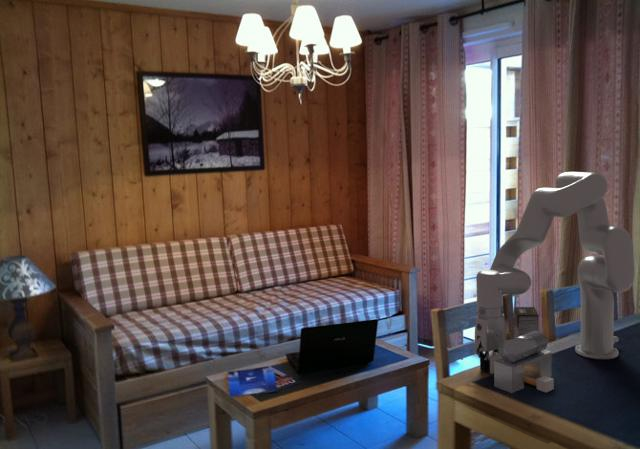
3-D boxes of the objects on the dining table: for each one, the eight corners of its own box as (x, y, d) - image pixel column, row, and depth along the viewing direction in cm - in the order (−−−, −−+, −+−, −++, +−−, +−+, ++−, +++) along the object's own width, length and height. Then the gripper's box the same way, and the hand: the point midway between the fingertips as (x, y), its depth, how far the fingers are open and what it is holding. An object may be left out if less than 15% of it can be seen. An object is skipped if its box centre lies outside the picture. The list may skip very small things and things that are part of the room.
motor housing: (533, 370, 171) (533, 327, 169) (551, 376, 166) (551, 331, 164) (494, 386, 161) (493, 340, 159) (511, 393, 156) (511, 346, 154)
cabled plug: (487, 364, 177) (486, 349, 176) (554, 388, 157) (554, 371, 157) (477, 368, 174) (477, 352, 174) (545, 393, 155) (544, 375, 154)
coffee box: (513, 354, 185) (513, 306, 183) (534, 354, 183) (534, 306, 181) (517, 364, 176) (517, 314, 174) (539, 365, 175) (539, 314, 173)
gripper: (480, 319, 163) (481, 380, 165) (518, 308, 172) (518, 365, 174) (461, 314, 169) (462, 372, 171) (497, 303, 178) (498, 359, 181)
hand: (490, 368), depth 173 cm, fingers closed on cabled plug, 4 cm apart
